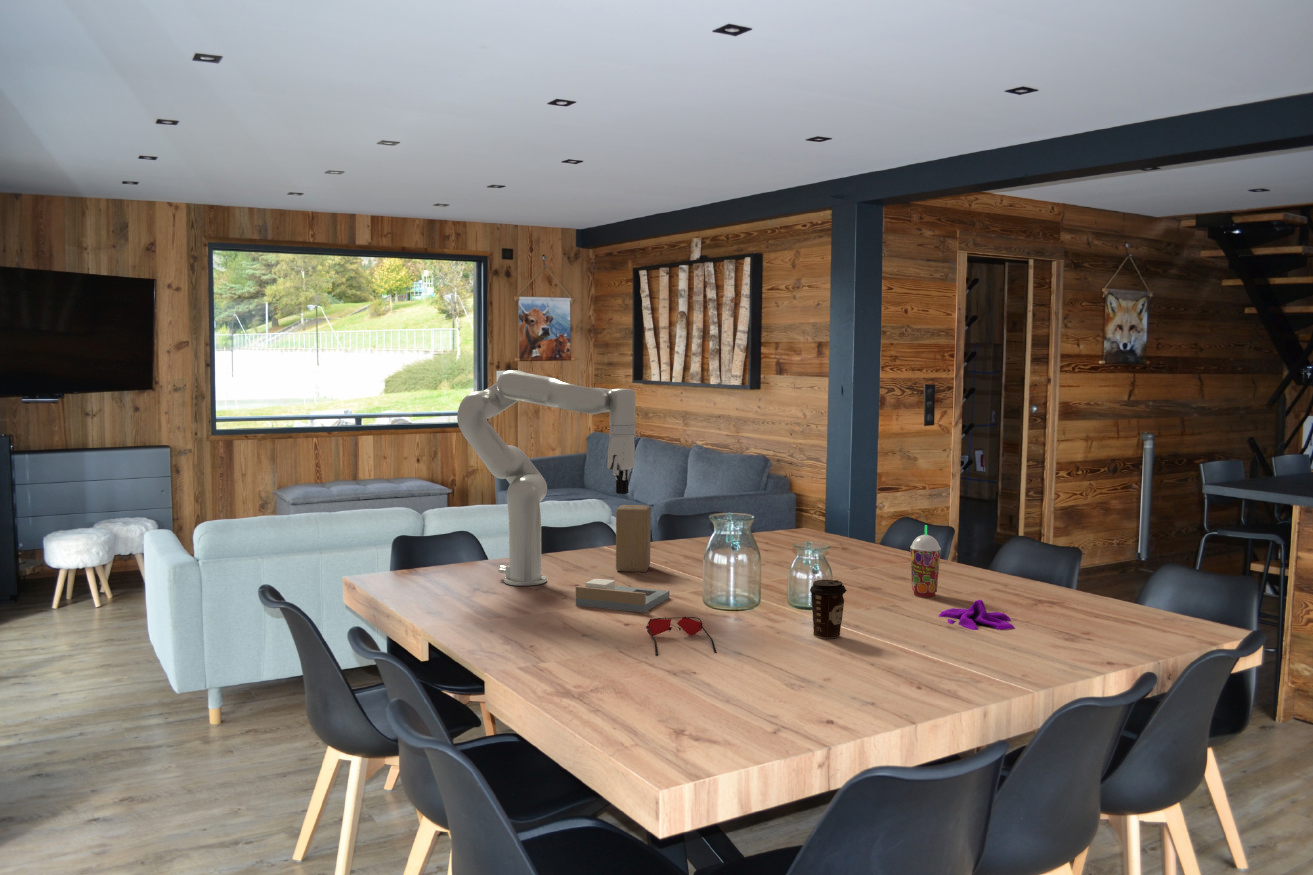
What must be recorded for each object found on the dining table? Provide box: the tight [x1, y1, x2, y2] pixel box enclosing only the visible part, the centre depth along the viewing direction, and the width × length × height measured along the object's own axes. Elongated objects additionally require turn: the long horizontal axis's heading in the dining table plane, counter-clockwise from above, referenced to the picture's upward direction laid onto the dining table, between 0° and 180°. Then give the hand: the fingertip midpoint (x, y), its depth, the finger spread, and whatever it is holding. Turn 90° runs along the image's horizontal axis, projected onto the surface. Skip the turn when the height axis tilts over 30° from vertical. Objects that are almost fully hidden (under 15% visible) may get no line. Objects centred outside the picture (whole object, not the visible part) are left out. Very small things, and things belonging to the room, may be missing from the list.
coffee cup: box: [809, 579, 847, 640], centre depth 235 cm, size 9×8×13 cm
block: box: [615, 504, 652, 573], centre depth 312 cm, size 10×10×20 cm
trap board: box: [575, 585, 670, 613], centre depth 269 cm, size 20×18×5 cm
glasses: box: [645, 616, 718, 657], centre depth 227 cm, size 14×16×5 cm
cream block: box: [584, 578, 616, 590], centre depth 266 cm, size 6×6×4 cm
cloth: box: [938, 599, 1016, 631], centre depth 249 cm, size 22×19×6 cm
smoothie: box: [909, 524, 942, 598], centre depth 278 cm, size 8×8×20 cm
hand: (622, 493), depth 288 cm, fingers closed
